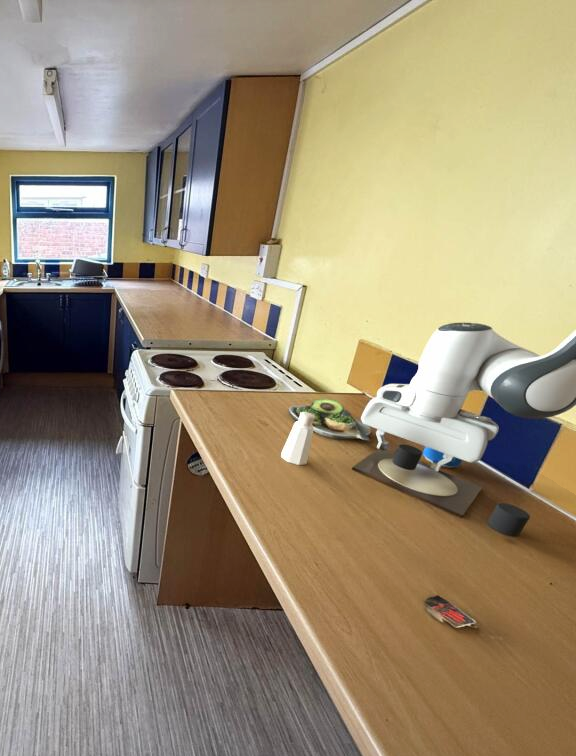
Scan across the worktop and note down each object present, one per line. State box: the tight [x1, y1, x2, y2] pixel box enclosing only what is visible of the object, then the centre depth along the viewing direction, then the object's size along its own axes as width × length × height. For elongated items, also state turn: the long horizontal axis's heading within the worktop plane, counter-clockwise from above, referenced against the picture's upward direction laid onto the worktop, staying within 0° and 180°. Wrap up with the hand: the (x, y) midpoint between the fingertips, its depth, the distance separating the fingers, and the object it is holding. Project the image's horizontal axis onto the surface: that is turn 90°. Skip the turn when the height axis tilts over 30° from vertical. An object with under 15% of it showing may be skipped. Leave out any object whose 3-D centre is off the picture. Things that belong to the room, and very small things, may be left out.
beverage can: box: [422, 414, 463, 469], centre depth 89 cm, size 6×6×12 cm
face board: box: [351, 448, 483, 518], centre depth 84 cm, size 18×16×1 cm
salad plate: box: [288, 398, 372, 442], centre depth 104 cm, size 19×18×5 cm
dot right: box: [487, 502, 531, 537], centre depth 70 cm, size 4×4×4 cm
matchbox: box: [423, 594, 479, 629], centre depth 54 cm, size 5×5×1 cm
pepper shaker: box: [280, 412, 315, 466], centre depth 87 cm, size 5×5×11 cm
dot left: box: [392, 443, 423, 470], centre depth 87 cm, size 4×4×4 cm
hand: (406, 458), depth 87 cm, fingers open, 8 cm apart
